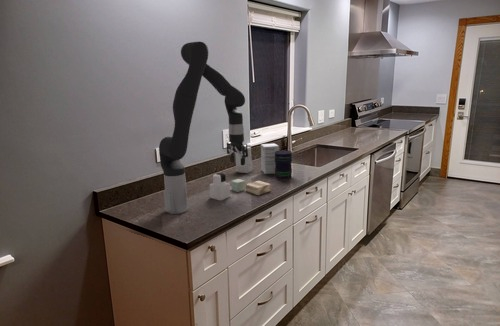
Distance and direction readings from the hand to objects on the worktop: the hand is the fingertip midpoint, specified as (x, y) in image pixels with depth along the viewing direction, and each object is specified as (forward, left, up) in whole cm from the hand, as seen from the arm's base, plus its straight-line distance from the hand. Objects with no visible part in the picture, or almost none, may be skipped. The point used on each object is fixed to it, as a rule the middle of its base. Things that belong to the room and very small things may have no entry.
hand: (237, 163), depth 182 cm
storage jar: (+33, -1, -14) cm, 36 cm away
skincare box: (+25, +25, -14) cm, 38 cm away
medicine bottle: (-14, -3, -14) cm, 20 cm away
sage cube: (0, 0, -14) cm, 14 cm away
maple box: (+6, -9, -14) cm, 18 cm away
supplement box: (+36, +13, -14) cm, 41 cm away
